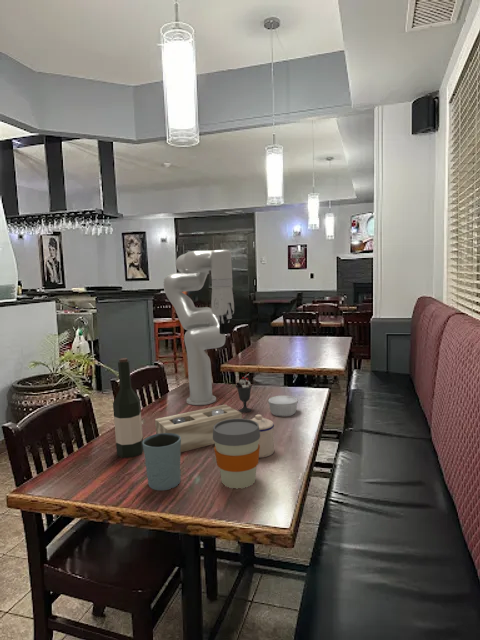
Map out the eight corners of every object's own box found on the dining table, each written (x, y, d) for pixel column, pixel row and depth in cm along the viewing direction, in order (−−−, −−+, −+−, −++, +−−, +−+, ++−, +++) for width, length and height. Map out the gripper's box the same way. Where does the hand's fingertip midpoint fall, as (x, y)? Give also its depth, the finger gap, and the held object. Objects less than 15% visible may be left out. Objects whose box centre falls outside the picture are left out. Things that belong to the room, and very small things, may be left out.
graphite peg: (172, 441, 146) (170, 418, 145) (183, 438, 148) (182, 416, 147) (176, 445, 143) (175, 422, 142) (188, 442, 144) (186, 419, 144)
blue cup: (149, 495, 114) (146, 450, 112) (141, 478, 123) (138, 436, 121) (188, 485, 118) (185, 442, 116) (177, 470, 127) (175, 429, 125)
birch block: (156, 442, 148) (155, 419, 147) (226, 426, 160) (225, 404, 159) (169, 455, 137) (167, 430, 136) (242, 436, 150) (241, 413, 149)
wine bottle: (148, 448, 143) (142, 356, 140) (134, 459, 135) (127, 362, 132) (126, 446, 146) (119, 355, 142) (111, 456, 138) (103, 361, 134)
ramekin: (304, 413, 170) (303, 399, 170) (281, 419, 164) (280, 406, 164) (285, 406, 180) (284, 393, 179) (263, 412, 174) (262, 399, 173)
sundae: (254, 407, 179) (252, 371, 178) (252, 413, 173) (251, 375, 171) (237, 407, 180) (236, 371, 178) (235, 413, 173) (234, 375, 172)
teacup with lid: (275, 446, 141) (274, 410, 139) (274, 458, 132) (273, 420, 130) (237, 446, 142) (235, 410, 141) (234, 458, 133) (232, 420, 132)
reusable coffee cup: (268, 487, 115) (266, 431, 113) (221, 496, 112) (218, 438, 110) (253, 466, 127) (251, 415, 125) (210, 474, 124) (207, 421, 122)
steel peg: (211, 431, 153) (209, 410, 152) (221, 429, 155) (220, 408, 154) (216, 435, 149) (215, 413, 148) (226, 432, 151) (225, 411, 150)
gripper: (204, 284, 168) (206, 332, 170) (222, 285, 155) (224, 337, 157) (222, 283, 172) (224, 330, 174) (241, 283, 159) (243, 334, 161)
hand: (224, 333), depth 166 cm, fingers closed
